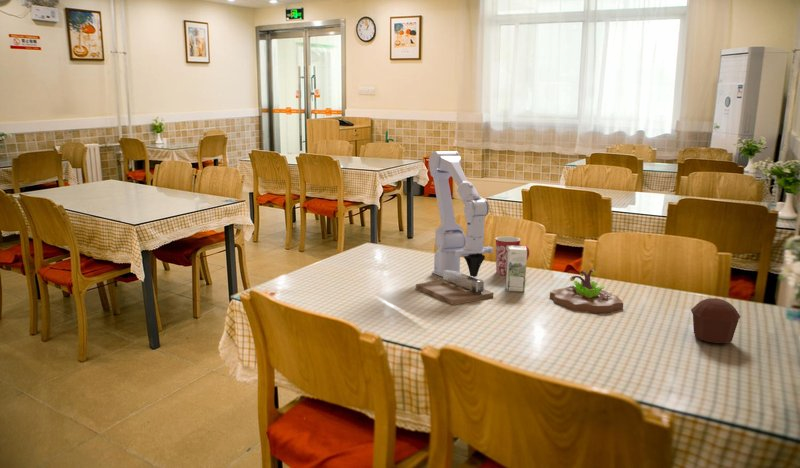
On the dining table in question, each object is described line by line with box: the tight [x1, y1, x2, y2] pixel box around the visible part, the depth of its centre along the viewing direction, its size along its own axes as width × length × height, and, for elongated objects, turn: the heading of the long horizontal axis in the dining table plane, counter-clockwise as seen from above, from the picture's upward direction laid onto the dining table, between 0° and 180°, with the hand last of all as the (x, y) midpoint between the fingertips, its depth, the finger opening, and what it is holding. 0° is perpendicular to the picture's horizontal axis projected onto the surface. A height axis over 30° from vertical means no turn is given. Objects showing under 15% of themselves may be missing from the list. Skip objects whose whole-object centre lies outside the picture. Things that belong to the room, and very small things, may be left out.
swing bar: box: [442, 269, 485, 292], centre depth 187 cm, size 18×4×3 cm, turn 32°
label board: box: [415, 279, 494, 306], centre depth 187 cm, size 20×16×2 cm
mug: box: [495, 236, 530, 277], centre depth 208 cm, size 13×9×14 cm
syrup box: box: [505, 245, 528, 293], centre depth 191 cm, size 6×6×14 cm
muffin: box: [690, 297, 742, 344], centre depth 151 cm, size 12×11×10 cm
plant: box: [549, 268, 624, 314], centre depth 179 cm, size 20×20×11 cm
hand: (473, 276), depth 193 cm, fingers closed
